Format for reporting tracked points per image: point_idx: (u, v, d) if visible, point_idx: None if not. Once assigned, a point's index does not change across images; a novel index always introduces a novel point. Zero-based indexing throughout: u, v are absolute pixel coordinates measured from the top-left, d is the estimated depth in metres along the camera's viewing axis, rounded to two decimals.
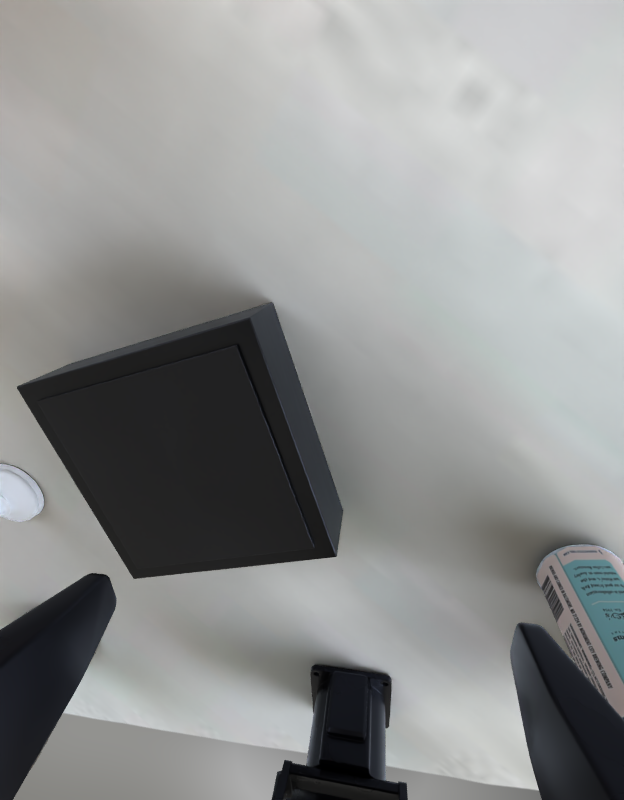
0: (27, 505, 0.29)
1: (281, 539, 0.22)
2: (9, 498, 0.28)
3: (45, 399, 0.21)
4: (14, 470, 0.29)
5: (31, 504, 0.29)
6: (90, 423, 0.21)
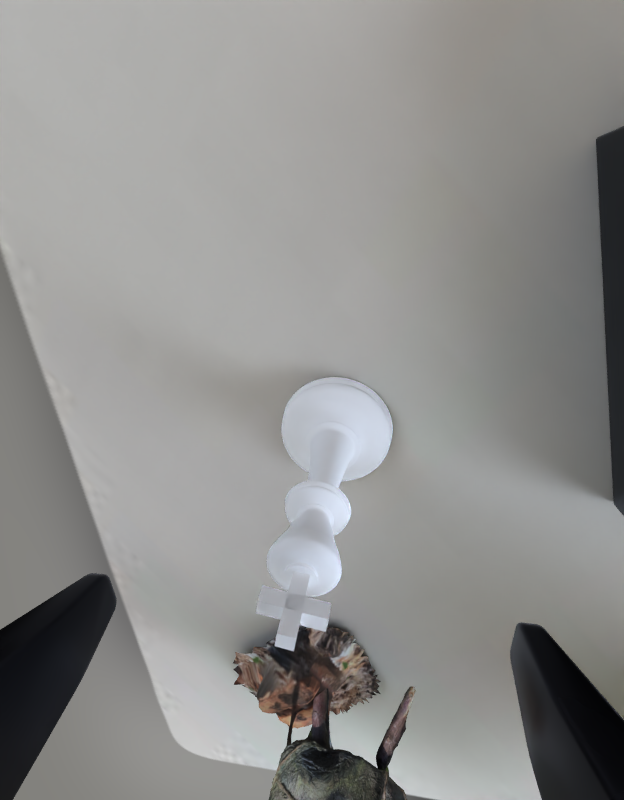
0: (378, 449, 0.16)
1: None
2: (357, 435, 0.16)
3: None
4: (360, 387, 0.16)
5: (384, 448, 0.16)
6: None
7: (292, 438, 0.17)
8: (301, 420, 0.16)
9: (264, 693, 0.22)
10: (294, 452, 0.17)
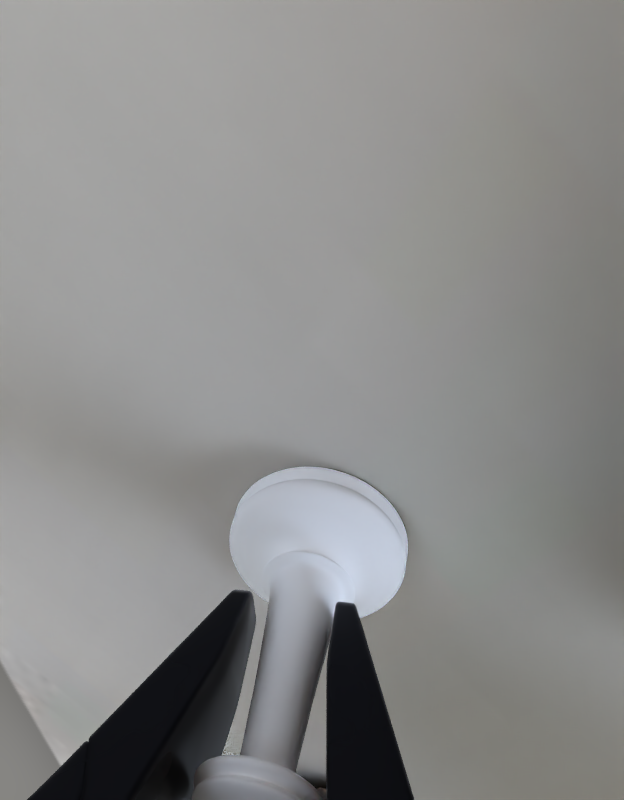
0: (383, 586, 0.10)
1: None
2: (350, 568, 0.09)
3: None
4: (355, 486, 0.10)
5: (394, 584, 0.10)
6: None
7: (245, 561, 0.10)
8: (257, 538, 0.10)
9: None
10: (250, 580, 0.11)
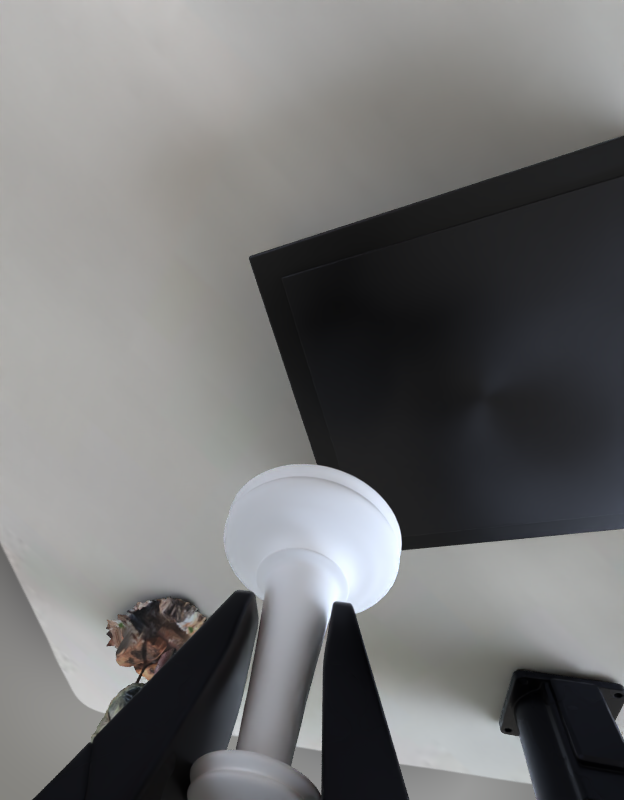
0: (378, 582, 0.10)
1: (621, 495, 0.15)
2: (344, 565, 0.10)
3: (296, 275, 0.13)
4: (348, 482, 0.10)
5: (388, 580, 0.10)
6: (363, 313, 0.14)
7: (240, 559, 0.10)
8: (251, 536, 0.10)
9: (120, 650, 0.28)
10: (244, 578, 0.11)
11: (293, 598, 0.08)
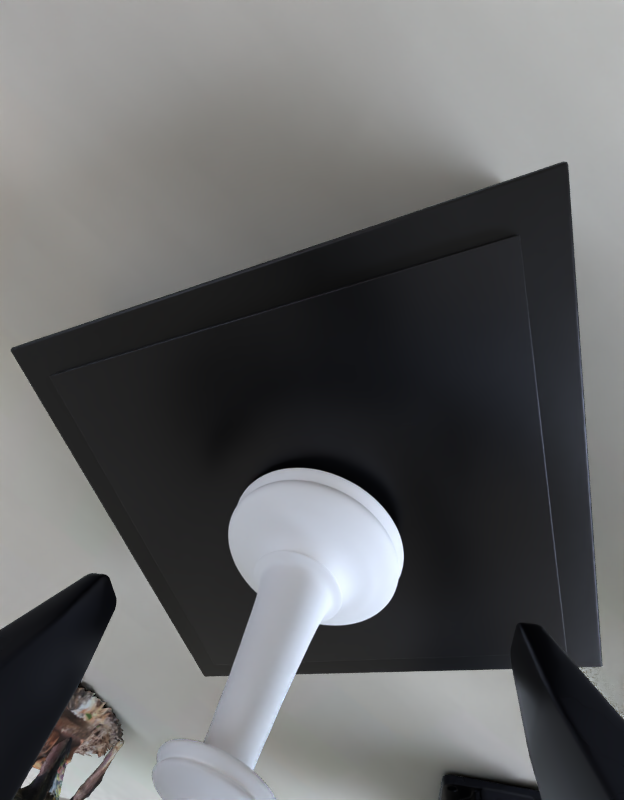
0: (375, 594, 0.10)
1: (502, 635, 0.12)
2: (339, 573, 0.09)
3: (66, 372, 0.11)
4: (349, 490, 0.10)
5: (386, 593, 0.10)
6: (153, 419, 0.11)
7: (241, 556, 0.11)
8: (252, 535, 0.10)
9: None
10: (246, 575, 0.11)
11: (281, 600, 0.08)
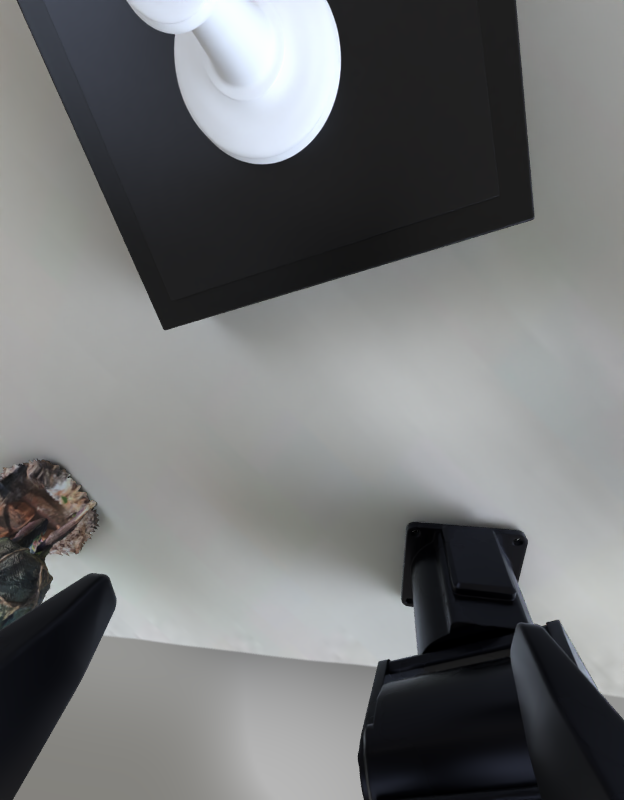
0: (315, 69, 0.11)
1: (438, 183, 0.12)
2: (281, 28, 0.10)
3: None
4: None
5: (325, 69, 0.11)
6: None
7: (188, 64, 0.11)
8: None
9: None
10: (194, 98, 0.11)
11: None
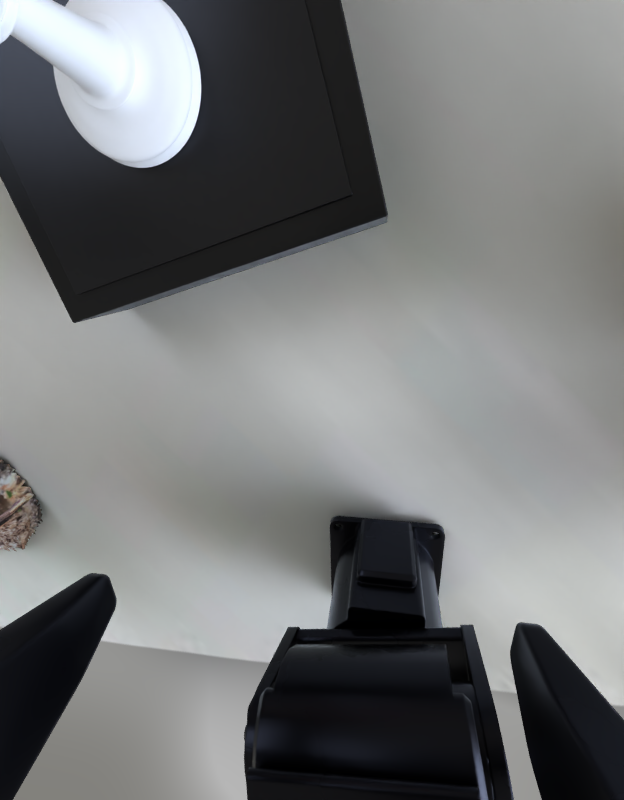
0: (171, 82, 0.12)
1: (298, 184, 0.13)
2: (135, 47, 0.12)
3: None
4: None
5: (180, 82, 0.12)
6: None
7: (63, 79, 0.12)
8: None
9: None
10: (72, 108, 0.13)
11: None
